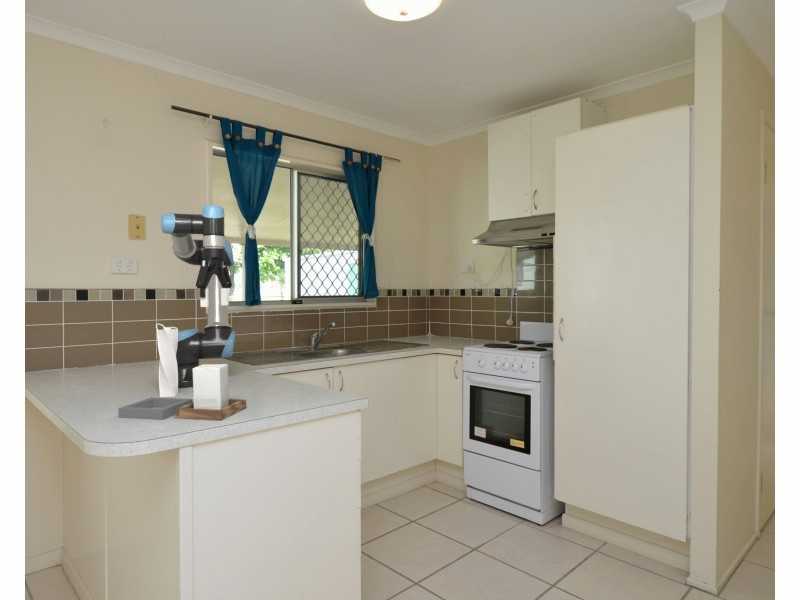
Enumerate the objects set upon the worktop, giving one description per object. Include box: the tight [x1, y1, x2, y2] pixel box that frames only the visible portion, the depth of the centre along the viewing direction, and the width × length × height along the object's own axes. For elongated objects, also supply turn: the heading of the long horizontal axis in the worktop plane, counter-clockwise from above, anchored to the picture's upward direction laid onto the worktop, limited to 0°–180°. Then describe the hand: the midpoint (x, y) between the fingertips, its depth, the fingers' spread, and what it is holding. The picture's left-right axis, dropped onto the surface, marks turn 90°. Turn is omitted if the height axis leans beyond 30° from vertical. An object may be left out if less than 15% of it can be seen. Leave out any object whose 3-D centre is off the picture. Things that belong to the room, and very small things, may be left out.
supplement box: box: [192, 363, 230, 410], centre depth 168 cm, size 9×9×15 cm
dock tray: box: [174, 398, 247, 421], centre depth 168 cm, size 16×16×3 cm
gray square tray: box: [117, 397, 194, 420], centre depth 170 cm, size 16×16×3 cm
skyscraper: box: [155, 323, 179, 398], centre depth 195 cm, size 8×8×28 cm
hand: (215, 306), depth 186 cm, fingers open, 13 cm apart
